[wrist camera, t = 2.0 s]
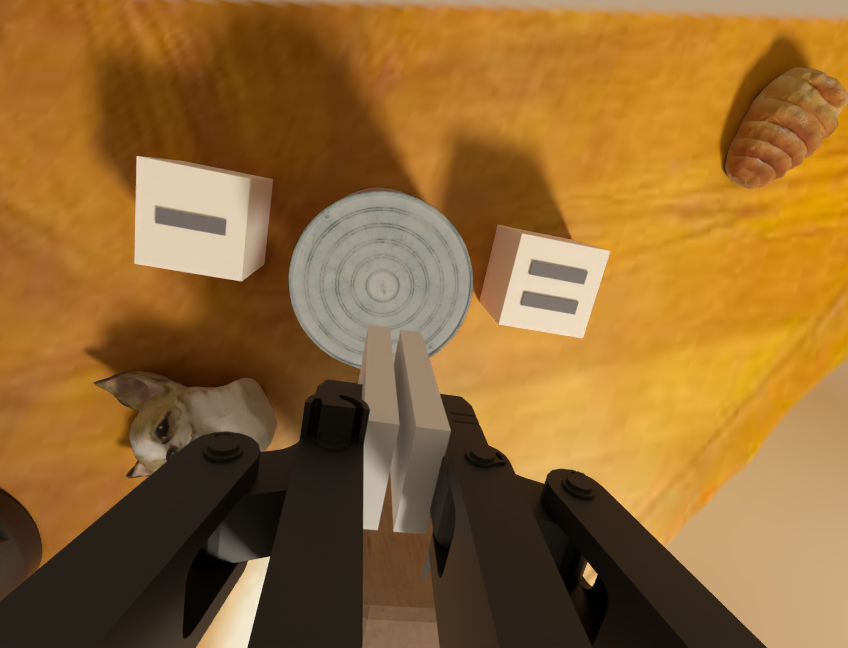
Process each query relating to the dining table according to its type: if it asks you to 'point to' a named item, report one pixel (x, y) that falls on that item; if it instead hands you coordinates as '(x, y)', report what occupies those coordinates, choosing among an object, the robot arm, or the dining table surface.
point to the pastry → (784, 126)
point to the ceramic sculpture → (187, 414)
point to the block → (397, 586)
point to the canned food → (379, 273)
